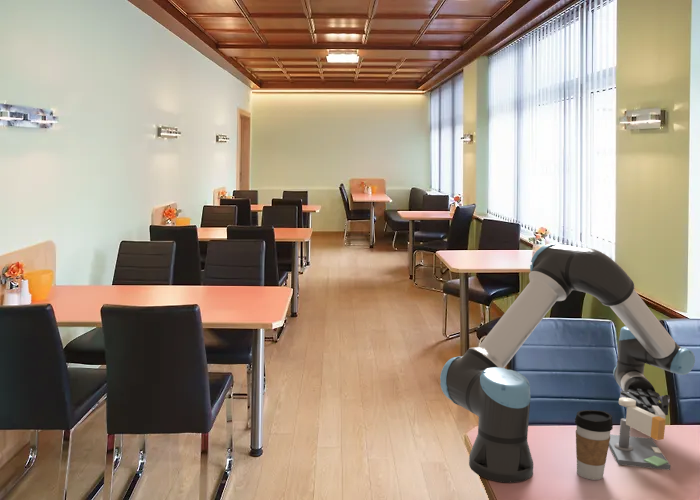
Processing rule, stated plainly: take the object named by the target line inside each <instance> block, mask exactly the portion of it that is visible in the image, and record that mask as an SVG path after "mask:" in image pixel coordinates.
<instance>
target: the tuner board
mask: <svg viewBox="0 0 700 500" xmlns="http://www.w3.org/2000/svg"><path fill="white" fill-rule="evenodd" d="M619 435H620V434H611V433H610V442H609V447H608V449H610V451H611V453H612V455H613V457H614V459H615V461H616V463H617V464H618V465H620V466H627V467H628V466H629V467H640V468H648V469H649V468H650V469H657V470H658V469H659V470H667V471H669V470H670V471H671V464H670V462H669V461H668V460H667V457H665V455H664V453H663V452H662V450H660V448H659V447H658V445H657V444H656V443H655V440H654V439H653V438H651V437H642V436H641V437H640V436H632V435H630V438H629V447H628V448H622V447H620V446H619Z"/></svg>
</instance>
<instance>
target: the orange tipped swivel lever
mask: <svg viewBox="0 0 700 500" xmlns="http://www.w3.org/2000/svg"><path fill="white" fill-rule="evenodd" d="M618 404H619V406H622V407H623V408H624V407H625V408H626V416H625V418H620V422H619V423H620V424H619V425H620V426H619V434H618V435H619V446H620V447H622V448H628V447H629V438H630V436H631V435H630V434H631V428H632V429H634V430H636V431H638V432H640V433H642V434H644V435H646V436H648V437H649V438H652V440H654V441H655V440H656V441H662V440H664V439H665V431H666V418H665V419H664V418H662V417H659V416H657V415H654V414H652V413H650V412H648V411H646V410H643V409H641V408H639V407H637V406H636V401H635V400H634V399H631V398H626V397H622V398H620V397H619V398H618Z"/></svg>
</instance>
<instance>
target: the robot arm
mask: <svg viewBox="0 0 700 500" xmlns="http://www.w3.org/2000/svg"><path fill="white" fill-rule="evenodd" d="M530 262H531V264H530V266H529V267H530V269H529V270H530V272H529V274H528V278H529V279H528V280H529V283H528V284H527V285H526V286H525V288H524V289H523V290H522V291H521V293H520V294H519V295H518V296H517V298H516V299H515V300H514V301H513V302H512V303H511V304H510V306H509V307H508V308H507V310H506V311H505V312H504V313H503V315H502V316H501V317H500V318H499V320H498V321H497V323H495V325H494V326H493V327H492V329H490V331H489V332H488V333H487V335H486V336H485V337H484V339H483V340H482V341H481V342H480V343H479V345H478V346H476V347H475V346H474V347H469V348H468V349H467V350H466V352H465V353H464V354H463V355H462V356H460V355H459V356H456V357H451V358H450V359H448V360H447V361H446V363H445V364H444V365H443V366H442V369H441V370H440V371H441V372H440V377H439V379H440V388H441V392H442V393H443V395H444V396H445V397H446V398H447V399H448V400H451V402H452V403H453V404H454V405H457V406H459V407H462V408H463V409H465V410H467V411H469V412H470V413H472V414H474V415H475V416H477V417H478V425H477V435H476V437H475V440H474V443H473V445H472V448H471V450H470V453H469V456H468V466H469V468H470V469H471V471H473V473H474V474H476V475H478V476H480V477H482V478H484V479H487V480H490V481H493V482H497V483H498V482H499V483H509V484H510V483H520V482H525V481H527V480H528V479H530V478H532V476H533V474H534V461H533V457H532V453H531V449H530V446H529V443H528V432H529V421H530V411H531V410H530V408H531V400H532V398H531V397H532V395H531V385H530V382H529V380H528V378H527V377H526V376H524V375H523V374H521V373H519V372H518V371H516V370H512V369H508V368H506V367H507V365H508V364H509V363H510V361H511V360H513V358H514V356H515V355H516V353H517V352H518V351H519V349H521V347H522V346H523V345H524V344H525V342H526V341H527V339H528V338H529V337H530V336H531V335H532V333H533V332H534V330H535V329H536V327H537V326H538V325H539V324H540V323H541V322H542V321H543V319H544V318H545V316H546V315H547V313H549V311H551V309H552V307H553V306H554V305H555V303H556V302H562V301H565V300H566V299H567V298H568V296H569V295H570V294H571V292H572V291H577V292H583V293H584V294H585V293H586V294H588V295H591V296H592V297H594V298H596V299H597V300H598V301H599V302H600V303H601V304H602V305H603V306H606V307H609V308H610V309H611V310H612V311H613V312H614V313H615V315H616V317H618V319H619V320H621V322H622V323H623V324H624V326H622V327H621V328H620V331H619V337H618V346H617V347H618V349H617V362H616V365H615V367H614V369H613V372H612V373H613V378H614V380H615V382H616V384H617V385H618V386H619V388H620V389H621V390H620V395H619V398H622V397H626V398H631V399H634V400H635V401H636V406H637V407H639V408H641V409H643V410H646V411H648V412H650V413H652V414H654V415H657V416H659V417H662V418H664V419H666V416H669V406H670V398H671V396H670V395H669V394H665V395H660V393H659V392H656V389H655V387H654V385H653V384H652V383H651V382H650V381H649V380H648V378H646V376H645V373H644V372H645V364H646V365H649V366H652V367H655V368H659V369H661V370H664V371H667V372H670V373H672V374H676V375H679V376H684V375H687V374H689V373H690V372H691V371H692V369H693V368H694V366H695V363H696V358H695V357H696V356H695V353H694V352H693V351H692V350H691V349H689V348H686V347H684V346H681V345H678V343H677V342H676V341H675V340H674V338H673V337H672V336H671V335H670V334H669V332H668V331H667V330H666V328H665V327H664V326H663V324H662V323H661V322H660V320H659V319H658V318H657V317H656V316H655V314H654V313H653V311H652V310H650V308H649V307H648V305H647V304H646V303H645V301H644V300H643V299H642V298H641V296H640V295H639V294H638V293H637V291H636V290H635V289H636V288H635V283H634V281H633V280H632V278H631V277H630V276H629V275H628V273H627V272H626V271H625V270H624V269H623V268H622V266H620V265H619V264H618V263H617V262H616V261H615V260H614V259H612V258H611V257H609V256H608V255H607V254H605V253H603V252H602V251H599V250H597V249H595V248H590V247H581V246H573V245H567V244H565V243H548V244H545V245H542V246H540V247H539V248H538V249H537V250H536V251H535V252H534V254H533V255H532V257H531V259H530Z"/></svg>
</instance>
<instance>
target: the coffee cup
mask: <svg viewBox="0 0 700 500" xmlns="http://www.w3.org/2000/svg"><path fill="white" fill-rule="evenodd" d="M575 415H576V416H575V418H574V423H575V425H576V430H575V444H576V445H575V448H576V449H575V450H576V451H575V453H576V474H577V475H579V476H580V477H581V478H583V479H587V480H591V481H598V480H602V479H603V477H604V473H605V468H606V462H607V457H608V450H609V442H610V434H611V431H613V426H614V424H613V415H612V414H610V413H609V412H607V411H603V410H598V409H597V410H596V409H583V410H579V411H577V412H576V414H575Z"/></svg>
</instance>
